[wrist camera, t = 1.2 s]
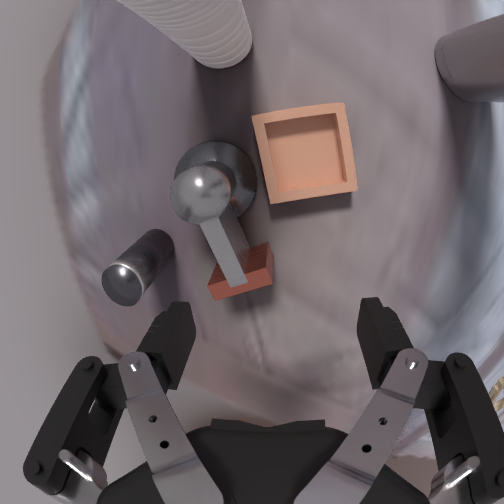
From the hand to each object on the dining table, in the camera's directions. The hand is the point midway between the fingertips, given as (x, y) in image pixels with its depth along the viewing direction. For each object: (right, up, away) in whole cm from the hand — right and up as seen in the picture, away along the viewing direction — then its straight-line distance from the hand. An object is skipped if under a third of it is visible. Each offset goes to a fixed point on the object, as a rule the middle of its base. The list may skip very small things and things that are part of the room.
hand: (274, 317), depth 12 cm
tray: (+4, +14, +15) cm, 20 cm away
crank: (-4, +7, +17) cm, 19 cm away
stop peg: (-13, +4, +21) cm, 25 cm away
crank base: (-5, +11, +17) cm, 21 cm away
